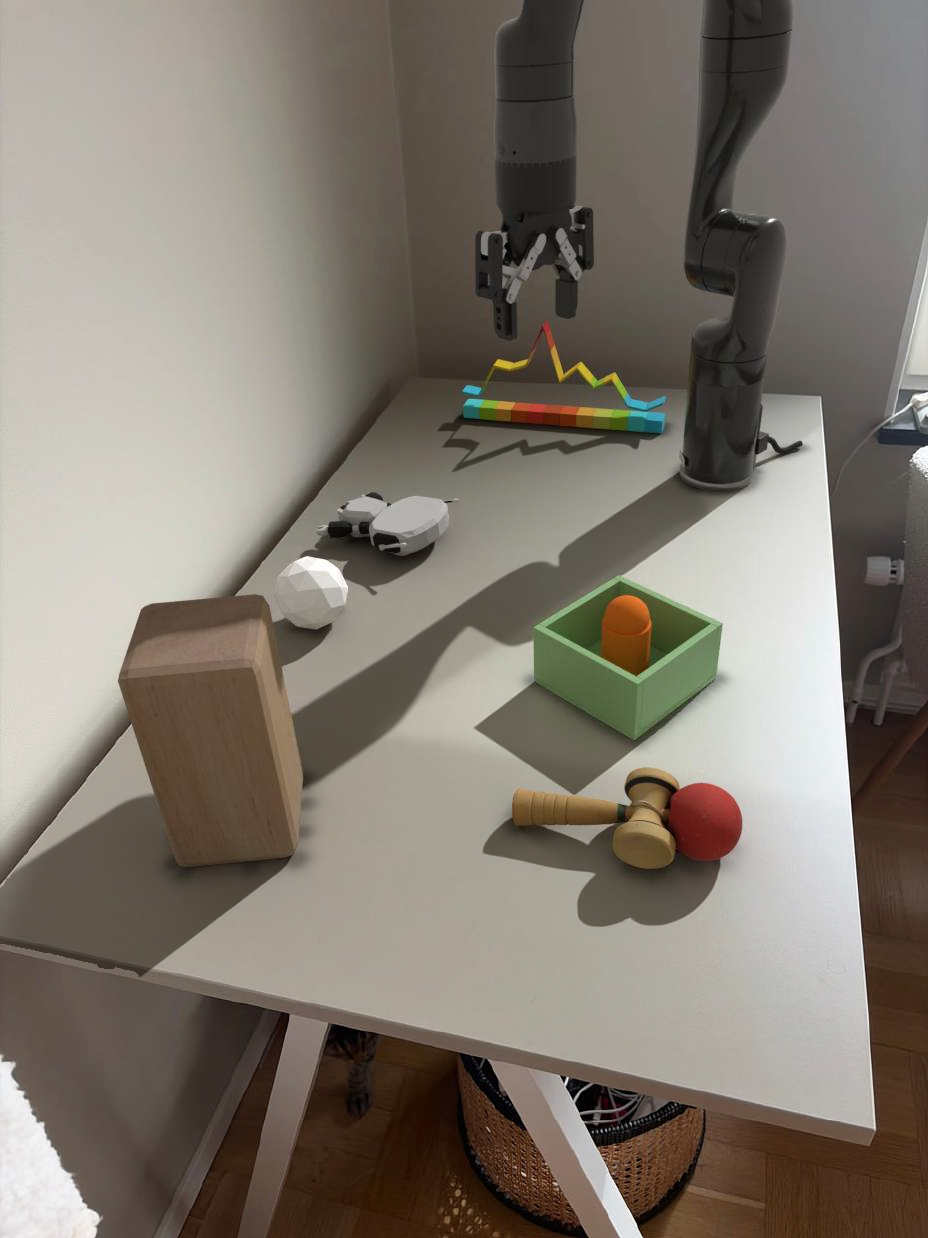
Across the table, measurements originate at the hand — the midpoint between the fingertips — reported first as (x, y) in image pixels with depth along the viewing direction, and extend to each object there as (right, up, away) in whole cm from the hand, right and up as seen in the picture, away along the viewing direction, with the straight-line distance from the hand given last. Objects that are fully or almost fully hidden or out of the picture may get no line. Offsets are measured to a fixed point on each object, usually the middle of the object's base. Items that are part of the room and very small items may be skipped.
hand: (537, 327), depth 98 cm
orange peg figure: (+8, -35, -3) cm, 36 cm away
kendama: (+6, -47, -19) cm, 51 cm away
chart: (+8, 0, +50) cm, 50 cm away
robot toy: (-17, -20, +23) cm, 34 cm away
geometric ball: (-24, -30, +9) cm, 39 cm away
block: (-26, -47, -15) cm, 56 cm away
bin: (+8, -35, -2) cm, 36 cm away
